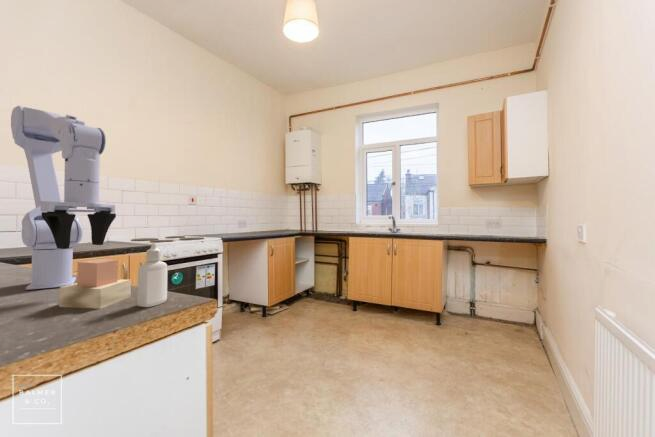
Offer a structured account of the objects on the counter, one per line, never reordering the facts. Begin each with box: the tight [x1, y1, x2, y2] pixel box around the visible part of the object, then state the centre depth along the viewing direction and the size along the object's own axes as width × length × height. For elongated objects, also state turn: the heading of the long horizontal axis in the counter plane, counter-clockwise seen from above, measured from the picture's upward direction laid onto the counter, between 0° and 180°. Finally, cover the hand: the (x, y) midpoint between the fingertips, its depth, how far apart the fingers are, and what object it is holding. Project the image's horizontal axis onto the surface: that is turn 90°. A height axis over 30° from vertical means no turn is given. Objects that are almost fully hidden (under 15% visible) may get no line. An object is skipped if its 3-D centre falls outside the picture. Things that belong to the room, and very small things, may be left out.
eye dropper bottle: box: [136, 242, 168, 308], centre depth 60 cm, size 4×6×12 cm
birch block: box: [58, 278, 132, 309], centre depth 60 cm, size 8×8×4 cm
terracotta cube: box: [76, 258, 119, 287], centre depth 60 cm, size 4×4×4 cm
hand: (81, 246), depth 64 cm, fingers open, 7 cm apart
